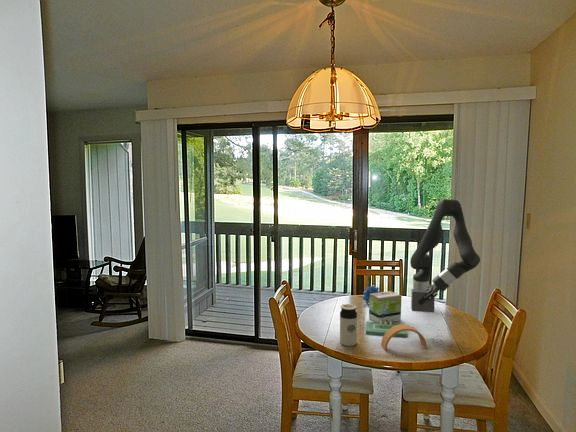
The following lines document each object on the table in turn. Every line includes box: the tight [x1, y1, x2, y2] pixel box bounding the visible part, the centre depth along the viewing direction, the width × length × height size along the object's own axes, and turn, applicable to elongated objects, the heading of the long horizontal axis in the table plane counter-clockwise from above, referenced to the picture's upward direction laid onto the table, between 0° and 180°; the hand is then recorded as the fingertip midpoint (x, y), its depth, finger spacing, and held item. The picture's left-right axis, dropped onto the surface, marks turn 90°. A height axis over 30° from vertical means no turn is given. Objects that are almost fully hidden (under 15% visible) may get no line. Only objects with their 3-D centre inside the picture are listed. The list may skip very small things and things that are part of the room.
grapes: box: [362, 284, 381, 305], centre depth 243 cm, size 12×7×12 cm, turn 104°
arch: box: [380, 323, 428, 351], centre depth 177 cm, size 6×20×10 cm, turn 93°
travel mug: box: [339, 303, 358, 347], centre depth 182 cm, size 8×8×18 cm
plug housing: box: [410, 288, 436, 313], centre depth 193 cm, size 5×10×10 cm, turn 77°
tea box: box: [368, 290, 402, 323], centre depth 213 cm, size 15×10×15 cm
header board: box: [365, 321, 408, 338], centre depth 198 cm, size 14×20×4 cm
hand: (418, 302), depth 193 cm, fingers closed on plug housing, 5 cm apart
